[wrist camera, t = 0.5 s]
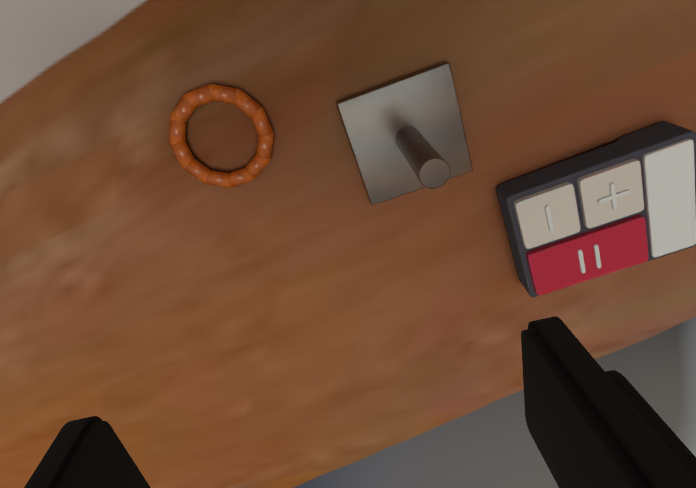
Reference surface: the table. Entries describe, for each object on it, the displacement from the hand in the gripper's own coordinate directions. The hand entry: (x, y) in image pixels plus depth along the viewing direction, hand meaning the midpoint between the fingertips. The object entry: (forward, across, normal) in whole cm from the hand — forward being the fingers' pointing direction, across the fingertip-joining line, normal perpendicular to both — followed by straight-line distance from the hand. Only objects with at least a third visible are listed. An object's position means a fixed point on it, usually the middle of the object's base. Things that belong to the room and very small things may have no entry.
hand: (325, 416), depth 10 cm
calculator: (+30, -22, +12) cm, 39 cm away
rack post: (+29, -7, +2) cm, 30 cm away
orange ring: (+29, +8, -2) cm, 30 cm away
